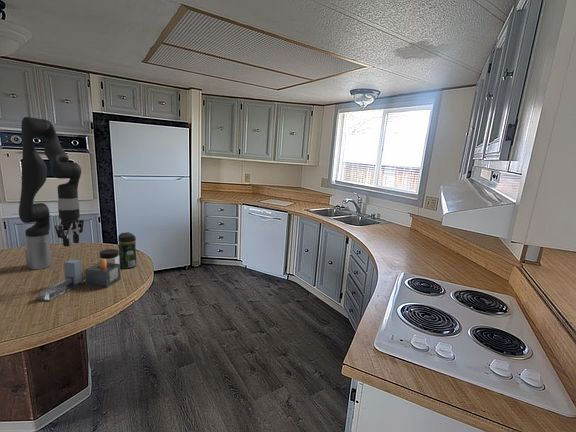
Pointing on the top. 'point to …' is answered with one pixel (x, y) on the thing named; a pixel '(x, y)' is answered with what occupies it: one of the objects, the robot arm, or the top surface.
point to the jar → (110, 256)
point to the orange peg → (103, 263)
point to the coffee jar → (127, 250)
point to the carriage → (73, 270)
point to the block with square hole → (102, 275)
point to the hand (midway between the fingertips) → (71, 244)
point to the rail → (58, 289)
